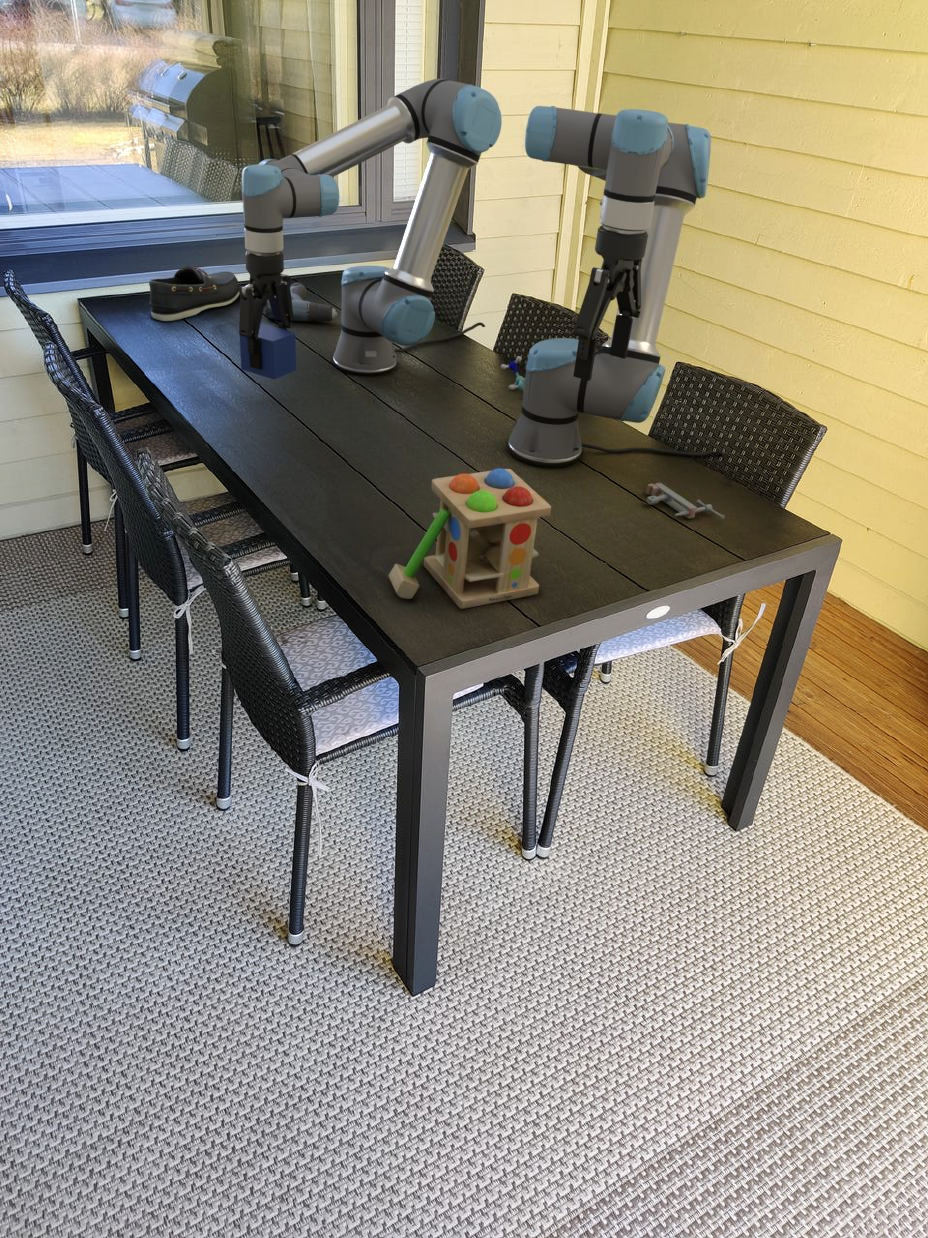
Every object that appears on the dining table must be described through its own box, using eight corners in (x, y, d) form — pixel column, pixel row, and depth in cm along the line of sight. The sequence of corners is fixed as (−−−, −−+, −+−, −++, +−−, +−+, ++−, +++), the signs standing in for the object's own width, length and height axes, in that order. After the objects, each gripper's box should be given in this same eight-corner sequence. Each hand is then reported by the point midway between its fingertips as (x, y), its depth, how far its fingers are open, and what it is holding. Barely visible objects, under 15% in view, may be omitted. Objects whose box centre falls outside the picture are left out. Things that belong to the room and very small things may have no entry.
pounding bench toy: (410, 620, 149) (416, 516, 139) (375, 573, 160) (379, 473, 149) (540, 594, 159) (555, 495, 148) (499, 551, 169) (510, 455, 159)
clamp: (635, 486, 189) (675, 478, 194) (633, 496, 191) (673, 488, 195) (686, 521, 179) (727, 512, 184) (684, 532, 180) (724, 522, 185)
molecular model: (546, 391, 223) (532, 348, 222) (508, 405, 227) (494, 363, 225) (558, 390, 234) (545, 349, 232) (521, 403, 237) (508, 363, 236)
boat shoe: (257, 300, 274) (255, 261, 268) (168, 323, 250) (164, 281, 244) (224, 291, 279) (221, 254, 274) (133, 313, 256) (128, 272, 250)
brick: (263, 360, 213) (262, 322, 208) (296, 369, 210) (295, 332, 205) (241, 369, 208) (239, 331, 203) (274, 379, 204) (272, 341, 200)
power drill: (344, 304, 276) (335, 327, 259) (277, 298, 275) (264, 321, 258) (344, 285, 273) (335, 306, 256) (277, 279, 272) (264, 300, 255)
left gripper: (281, 238, 204) (284, 346, 217) (214, 256, 189) (222, 371, 202) (310, 245, 201) (311, 354, 214) (245, 264, 186) (250, 380, 199)
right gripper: (633, 211, 156) (611, 342, 167) (563, 236, 137) (543, 381, 149) (678, 220, 153) (652, 353, 164) (611, 247, 134) (588, 394, 146)
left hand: (268, 362), depth 208 cm, fingers closed on brick, 7 cm apart
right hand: (600, 367), depth 157 cm, fingers open, 13 cm apart
